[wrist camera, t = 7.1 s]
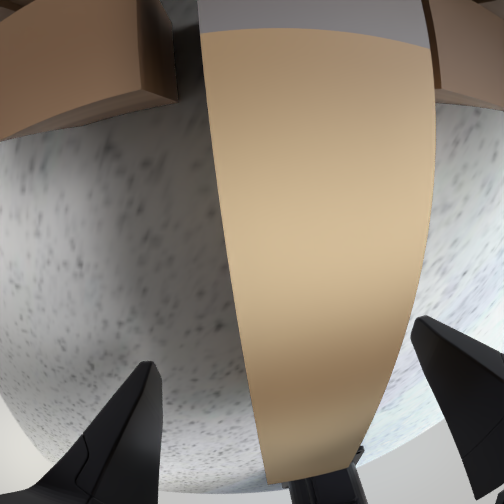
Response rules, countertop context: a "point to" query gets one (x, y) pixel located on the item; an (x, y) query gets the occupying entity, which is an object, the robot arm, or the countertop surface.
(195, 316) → the countertop surface
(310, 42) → the rail
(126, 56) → the headboard
